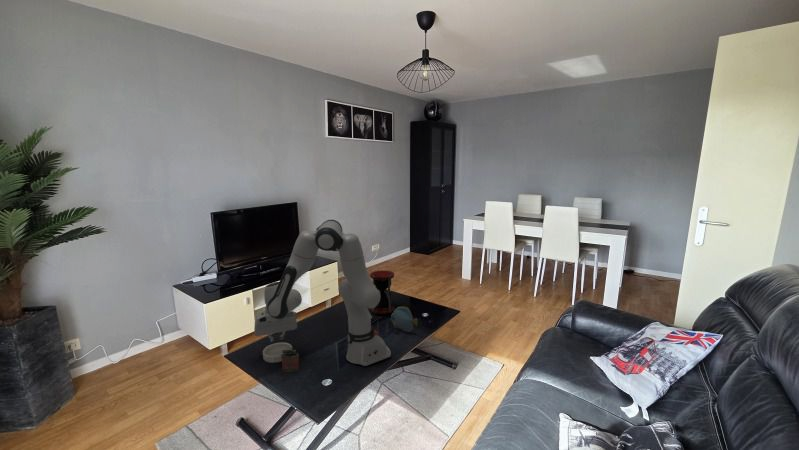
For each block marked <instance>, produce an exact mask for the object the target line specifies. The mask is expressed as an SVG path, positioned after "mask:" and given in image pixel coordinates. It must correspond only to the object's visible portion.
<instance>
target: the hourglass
mask: <svg viewBox="0 0 799 450" xmlns="http://www.w3.org/2000/svg"><path fill="white" fill-rule="evenodd" d="M369 276H370V278H371V280H372V282H373V284H374V286H375V287H376V288H377V289H378V290H379V292H380V301H379V303H378V305H377V306H376V307H374V308H370V312H372V313H373V314H375V315H388V313H389V314H392V313H393V312H394V310H395V309H396V308H395V305H394V304H393V303H392V292H391V286H392V279H394V278H395V273H394V272H393V271H391V270H375V271H372V272H370V274H369ZM385 291H386V292H385ZM392 311H393V312H392Z"/></svg>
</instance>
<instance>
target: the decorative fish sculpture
mask: <svg viewBox="0 0 799 450" xmlns="http://www.w3.org/2000/svg"><path fill="white" fill-rule="evenodd" d="M390 316H391V317H390V318H389V321H390V323H391V324H393V326H394V327H395V326H396V327H397V328H399V329H401V330H402V331H404V332H406V331H407V332H408V333H409V332H412V330H413V328H414V325H415V326H416V327H418V318H414V317H413V315H412V312H411V310H410V309H409V308H408V307H407V306H398V307H396V308H395V309H394V311H393V312H391V315H390Z"/></svg>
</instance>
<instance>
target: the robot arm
mask: <svg viewBox="0 0 799 450" xmlns="http://www.w3.org/2000/svg"><path fill="white" fill-rule="evenodd" d="M319 249H320V250H322V251H325V252H338V254H339V260H340V265H341V269H342V273H343V276H344V277H345V279H343V280H342V281H340V283H339V286H338V293H339V295H340V297H341V298H342V301H343V302H344V306H345V310H346V313H347V325H348V330H347V342H348V345H347V352H346V356H345V358H346V360H347V361H348V362H350V363H351V364H355V365H361V366H363V367H366V366H369V365H372V364H374V363H377V362H380V361H383V360H385V359H388V358H391V356H392V353H391V349H390V348H389V347H388V345H386V342H385V340H384V339H383V338H382V337H381V336H379V335H378V334H379V332H378V331H377V330H376V329H375V328H373V327H372V323H371V322H372V320H371V316H372V315H371V311H369V309H371V308H374V307H376V306H377V305H378V303H379V301H380V292H381V291H379V290H378V289H377V288H376V286H374V284H373V279H372V278H371V277H370V274H369V272H368V270H367V266H366V261H365V256H364V255H365V254H364V251H363V248H362V243H361V241H360V239H359V236H357V235H356V234H355V233H351V232H350V233H344V232H343V227H342V224H341V223H340V222H339V221H338V220H335V219H328V220H326V221H324V222H322V223H321V224H320V225H319V226H318V227H317V228H316V229H315V230H310V229H307V230H303V231H301V232H300V233H299V234H298V237H297V238H296V240H295V243H294V245H293V249H292V251H291V254H290V258H289V259H288V262H287V265H286V266H285V269H284V270H283V272H282V275H281V277H280V280H279V281H274V282H271V283H268V284H267V285H266V286H265V287H264V294H263V295H264V304H265V310H264V311H261V312H259V313H257V314H256V316H255V321H254V330H253V331H254V333H253V334H254V336H255V337H261V336H264V335H265V336H266V335H267V337H268V338H269V339H270V342H275V340H274V336H272V334H277V333H281V335H279V339H280V341H282V340H284V337H285V334H286V332H287V331H292V330H293V331H294V330H297V328H298V323H297V322H298V321H297V318H298V314H297V312H296V311H294V310H295V309H296V308H298V307H299V306H301V304H302V302H303V297H302V295H301V293H300V292H299V291H298V290H296V289H294V285H295V284H296V282H297V281H298V280H299V279H300V278H301V277H302V276H304V274H306V273H307V272H308V271H310V270H311V269H312V266H313V265H314V263H315V261H316V257H317V254H318V252H319Z"/></svg>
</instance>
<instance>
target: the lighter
mask: <svg viewBox="0 0 799 450" xmlns="http://www.w3.org/2000/svg"><path fill="white" fill-rule="evenodd" d="M282 352H283V353H285V354H282V355H281V358H282V361H281V365H282V367H281V372H284V373H285V372H290V373H291V372H298V371H300V369H301V368H300V354H299V352H297V349H293V348H292V349H290V350H283V351H282Z"/></svg>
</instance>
